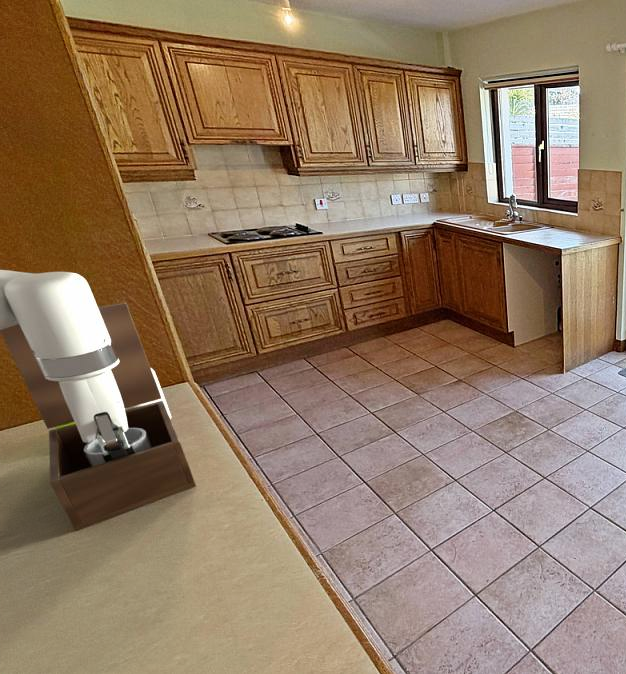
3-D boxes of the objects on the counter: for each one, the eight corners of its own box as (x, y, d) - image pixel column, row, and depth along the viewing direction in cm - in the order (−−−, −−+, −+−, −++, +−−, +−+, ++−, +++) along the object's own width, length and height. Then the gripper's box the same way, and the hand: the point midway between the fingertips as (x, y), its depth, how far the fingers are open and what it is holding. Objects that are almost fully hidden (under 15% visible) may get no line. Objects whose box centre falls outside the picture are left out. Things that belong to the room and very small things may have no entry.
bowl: (139, 474, 72) (129, 450, 71) (84, 481, 71) (72, 457, 69) (163, 448, 78) (154, 425, 77) (113, 453, 77) (102, 430, 75)
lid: (126, 303, 77) (123, 297, 80) (-4, 323, 67) (-1, 315, 71) (162, 398, 83) (158, 389, 86) (47, 429, 74) (48, 417, 77)
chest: (196, 486, 77) (179, 441, 73) (75, 531, 67) (50, 482, 64) (177, 441, 87) (162, 400, 83) (71, 475, 78) (48, 430, 74)
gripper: (40, 347, 70) (87, 446, 77) (40, 391, 59) (94, 501, 66) (110, 334, 75) (148, 428, 82) (122, 372, 64) (164, 476, 72)
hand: (124, 460), depth 74 cm, fingers closed on bowl, 7 cm apart
